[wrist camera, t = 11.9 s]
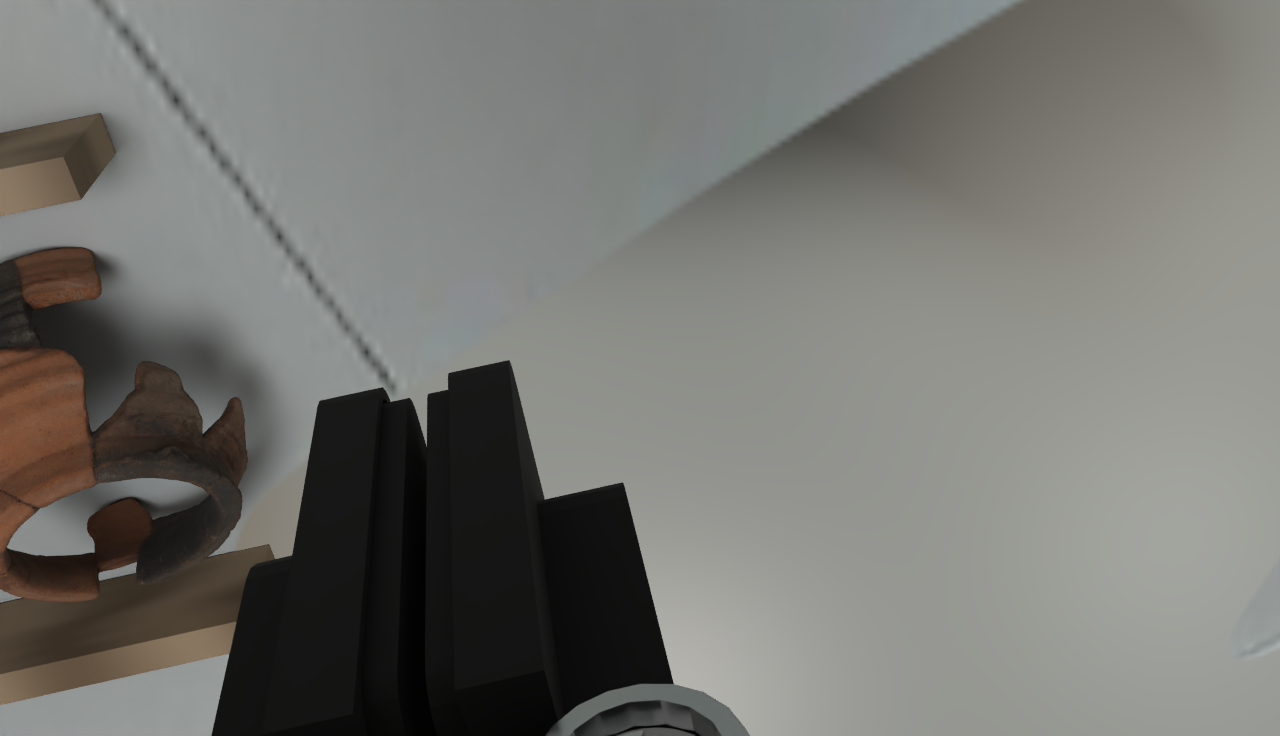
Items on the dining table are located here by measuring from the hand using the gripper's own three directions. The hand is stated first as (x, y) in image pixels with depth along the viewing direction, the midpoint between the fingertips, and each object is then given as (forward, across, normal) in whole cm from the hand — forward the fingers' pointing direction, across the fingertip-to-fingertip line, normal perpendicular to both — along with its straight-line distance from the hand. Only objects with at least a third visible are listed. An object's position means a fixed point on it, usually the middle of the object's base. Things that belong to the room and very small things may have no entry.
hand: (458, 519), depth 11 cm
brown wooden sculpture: (+27, +15, +10) cm, 33 cm away
